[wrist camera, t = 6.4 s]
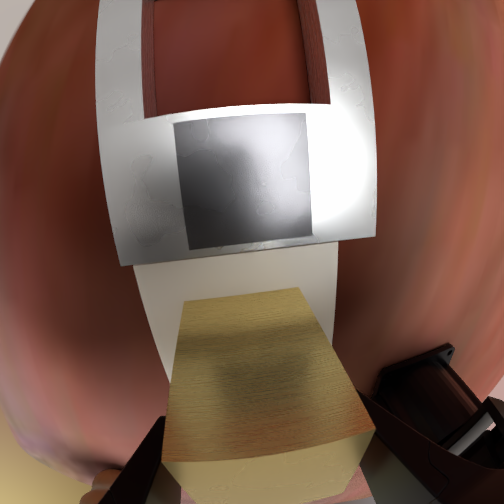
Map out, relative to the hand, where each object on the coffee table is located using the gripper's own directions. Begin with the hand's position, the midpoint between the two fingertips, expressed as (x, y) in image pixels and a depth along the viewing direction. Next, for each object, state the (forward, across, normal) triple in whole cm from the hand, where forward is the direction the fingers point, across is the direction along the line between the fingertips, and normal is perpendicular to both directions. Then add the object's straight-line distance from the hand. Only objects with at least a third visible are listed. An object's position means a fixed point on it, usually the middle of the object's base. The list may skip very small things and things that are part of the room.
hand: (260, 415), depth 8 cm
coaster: (+5, 0, 0) cm, 5 cm away
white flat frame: (+5, 0, -11) cm, 12 cm away
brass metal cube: (+4, 0, 0) cm, 4 cm away
